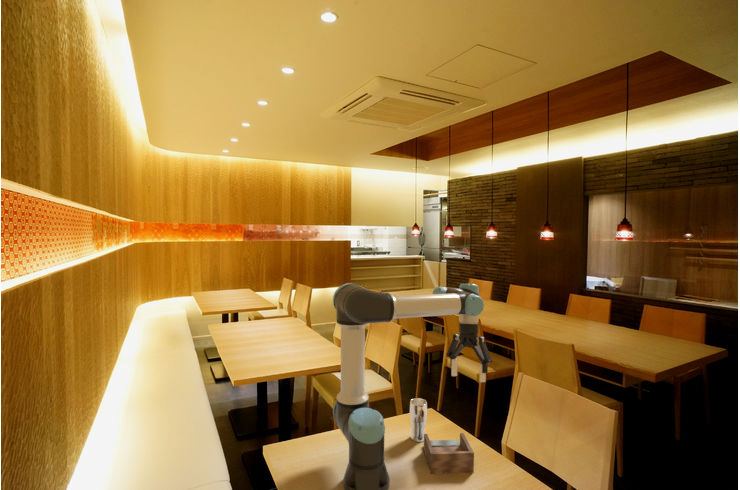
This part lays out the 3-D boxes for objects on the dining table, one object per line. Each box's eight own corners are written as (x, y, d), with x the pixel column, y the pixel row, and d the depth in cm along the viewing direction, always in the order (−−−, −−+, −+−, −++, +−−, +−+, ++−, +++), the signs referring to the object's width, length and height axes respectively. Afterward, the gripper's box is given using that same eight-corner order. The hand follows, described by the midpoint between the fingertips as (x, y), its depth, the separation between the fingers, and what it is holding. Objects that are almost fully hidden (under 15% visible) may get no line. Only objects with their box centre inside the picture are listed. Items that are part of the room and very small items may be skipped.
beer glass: (406, 434, 162) (407, 399, 161) (422, 432, 164) (422, 396, 163) (413, 444, 155) (414, 406, 154) (429, 441, 157) (430, 404, 156)
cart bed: (430, 473, 137) (431, 454, 137) (421, 445, 154) (422, 428, 154) (473, 472, 138) (474, 452, 138) (459, 444, 155) (460, 427, 154)
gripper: (501, 325, 149) (501, 383, 146) (450, 321, 169) (449, 373, 166) (489, 324, 145) (489, 385, 142) (438, 321, 165) (437, 374, 161)
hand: (467, 378), depth 154 cm, fingers open, 13 cm apart
